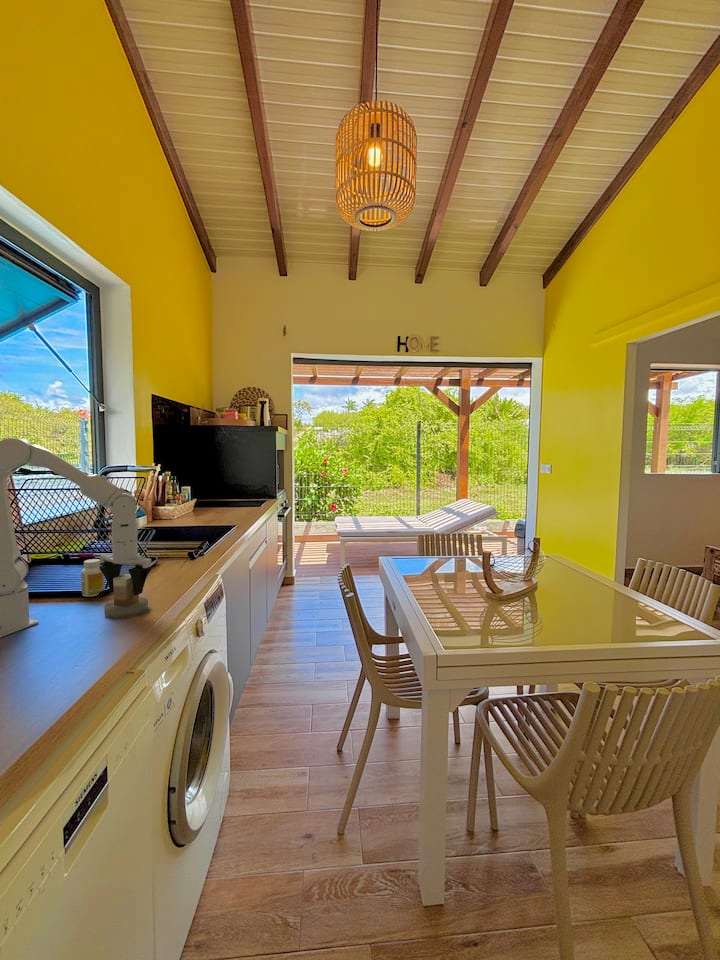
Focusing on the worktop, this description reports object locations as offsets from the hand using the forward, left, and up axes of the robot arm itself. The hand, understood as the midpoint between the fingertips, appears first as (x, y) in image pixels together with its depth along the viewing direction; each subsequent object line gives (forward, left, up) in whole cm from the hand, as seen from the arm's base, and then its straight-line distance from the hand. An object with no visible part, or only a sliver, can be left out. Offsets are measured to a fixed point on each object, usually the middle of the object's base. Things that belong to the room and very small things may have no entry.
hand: (126, 592), depth 115 cm
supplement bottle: (+7, +19, -5) cm, 21 cm away
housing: (0, 0, -3) cm, 3 cm away
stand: (0, 0, -5) cm, 5 cm away
